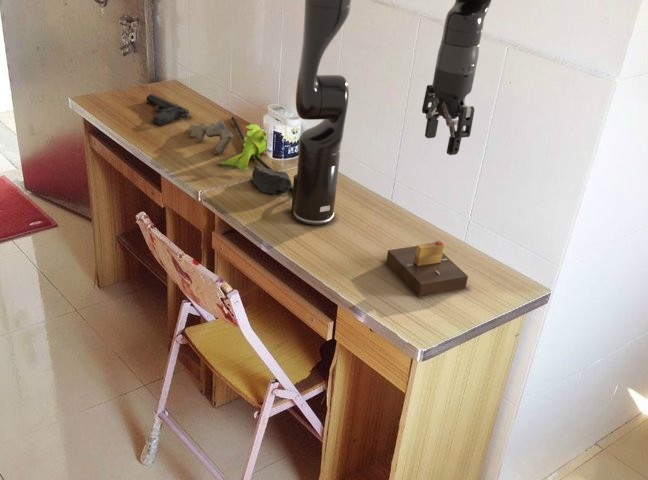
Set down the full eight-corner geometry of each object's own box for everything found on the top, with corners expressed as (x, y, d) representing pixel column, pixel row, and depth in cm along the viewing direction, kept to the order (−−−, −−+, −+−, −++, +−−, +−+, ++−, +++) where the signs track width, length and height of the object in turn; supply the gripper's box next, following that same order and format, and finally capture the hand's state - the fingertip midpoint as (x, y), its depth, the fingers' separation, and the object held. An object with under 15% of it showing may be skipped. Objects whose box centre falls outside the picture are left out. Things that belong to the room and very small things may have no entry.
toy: (280, 145, 215) (284, 124, 209) (242, 187, 205) (245, 166, 198) (255, 132, 217) (258, 111, 211) (217, 173, 206) (219, 152, 200)
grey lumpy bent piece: (182, 131, 222) (182, 107, 218) (198, 128, 225) (198, 104, 221) (219, 156, 209) (220, 131, 205) (235, 153, 211) (236, 128, 207)
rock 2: (250, 180, 199) (246, 187, 190) (256, 158, 198) (253, 164, 188) (289, 192, 200) (287, 200, 190) (296, 170, 198) (294, 177, 188)
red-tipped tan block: (417, 266, 159) (420, 247, 157) (413, 262, 161) (417, 243, 158) (440, 262, 161) (444, 244, 159) (436, 258, 162) (440, 240, 160)
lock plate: (385, 262, 166) (387, 249, 164) (430, 255, 170) (432, 242, 168) (418, 296, 155) (421, 283, 154) (465, 288, 159) (468, 275, 157)
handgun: (123, 109, 237) (155, 100, 243) (160, 127, 225) (193, 117, 232) (122, 100, 235) (154, 91, 242) (160, 118, 223) (193, 108, 230)
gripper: (420, 55, 152) (407, 133, 161) (459, 79, 141) (443, 161, 150) (453, 53, 154) (438, 130, 163) (494, 76, 143) (476, 158, 152)
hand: (440, 145), depth 156 cm, fingers open, 8 cm apart
